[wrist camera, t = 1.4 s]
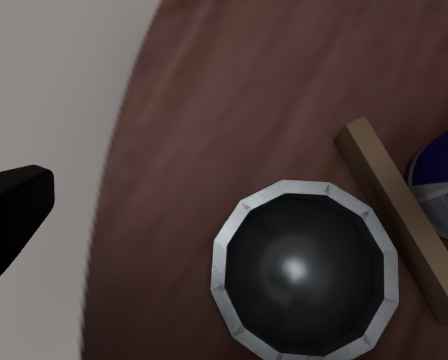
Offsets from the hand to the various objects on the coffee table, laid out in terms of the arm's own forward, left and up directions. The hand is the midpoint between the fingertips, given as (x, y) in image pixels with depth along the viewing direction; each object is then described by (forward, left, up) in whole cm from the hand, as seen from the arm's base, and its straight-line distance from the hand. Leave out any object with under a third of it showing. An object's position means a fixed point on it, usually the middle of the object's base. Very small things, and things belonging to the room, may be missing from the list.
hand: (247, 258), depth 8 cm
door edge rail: (-2, -7, -12) cm, 14 cm away
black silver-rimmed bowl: (-2, -2, -12) cm, 12 cm away
